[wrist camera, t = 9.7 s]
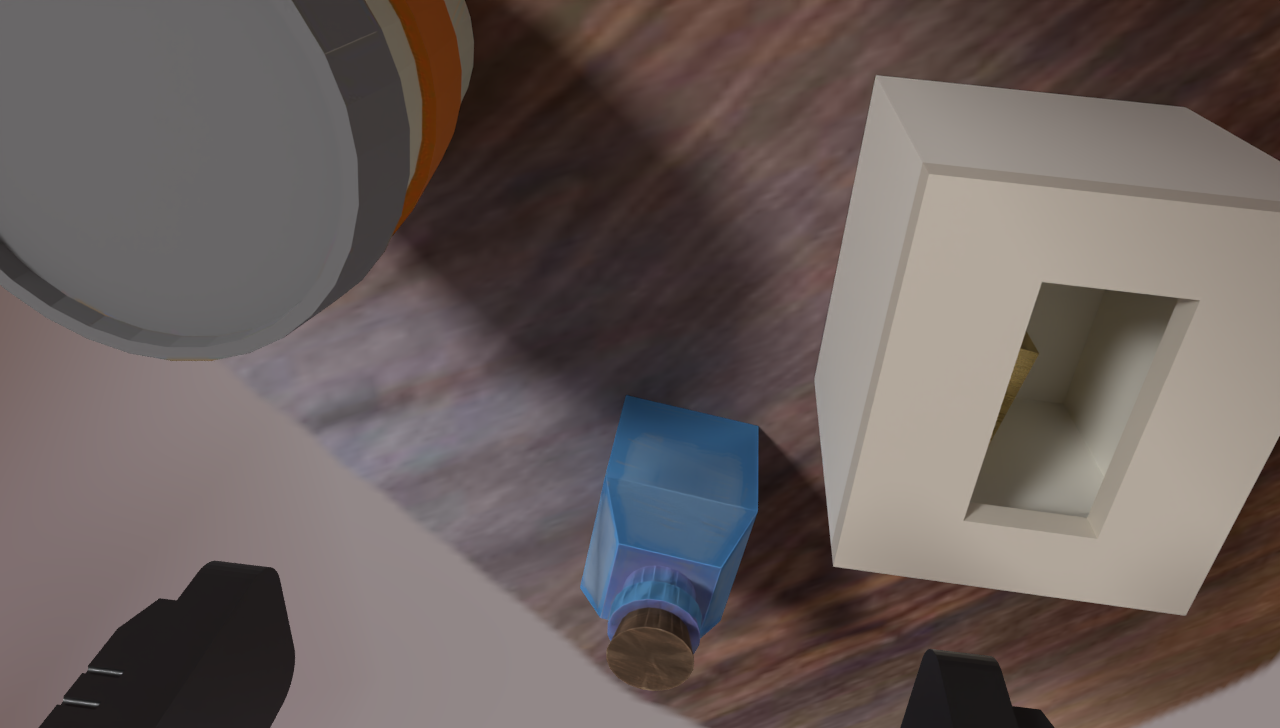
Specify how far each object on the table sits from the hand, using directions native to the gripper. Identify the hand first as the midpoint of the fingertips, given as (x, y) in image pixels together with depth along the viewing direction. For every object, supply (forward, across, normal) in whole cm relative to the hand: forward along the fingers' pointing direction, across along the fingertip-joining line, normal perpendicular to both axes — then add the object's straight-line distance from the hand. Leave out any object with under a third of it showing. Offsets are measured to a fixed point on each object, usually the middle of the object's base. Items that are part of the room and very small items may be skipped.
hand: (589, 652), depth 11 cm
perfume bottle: (+26, 0, +17) cm, 31 cm away
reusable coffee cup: (+27, +13, -1) cm, 30 cm away
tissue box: (+26, -12, +5) cm, 29 cm away
